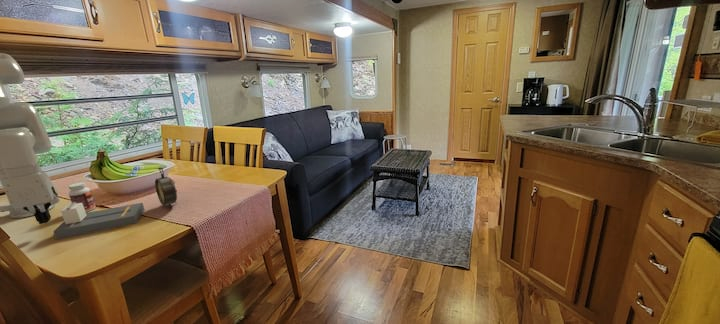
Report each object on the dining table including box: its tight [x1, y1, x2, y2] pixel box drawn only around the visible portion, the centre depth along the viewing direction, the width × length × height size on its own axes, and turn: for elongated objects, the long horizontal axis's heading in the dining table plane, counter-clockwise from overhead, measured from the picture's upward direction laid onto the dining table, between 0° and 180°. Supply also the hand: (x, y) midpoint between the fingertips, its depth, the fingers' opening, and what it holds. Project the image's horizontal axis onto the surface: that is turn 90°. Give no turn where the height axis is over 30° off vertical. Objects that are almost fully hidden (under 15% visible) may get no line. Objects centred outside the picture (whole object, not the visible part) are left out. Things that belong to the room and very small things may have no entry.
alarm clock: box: [154, 166, 178, 210], centre depth 115 cm, size 11×5×16 cm, turn 47°
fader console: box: [52, 202, 145, 240], centre depth 105 cm, size 22×12×3 cm, turn 114°
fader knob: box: [60, 202, 87, 224], centre depth 101 cm, size 4×5×6 cm
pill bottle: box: [68, 181, 97, 213], centre depth 116 cm, size 6×6×11 cm
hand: (45, 221), depth 99 cm, fingers closed
